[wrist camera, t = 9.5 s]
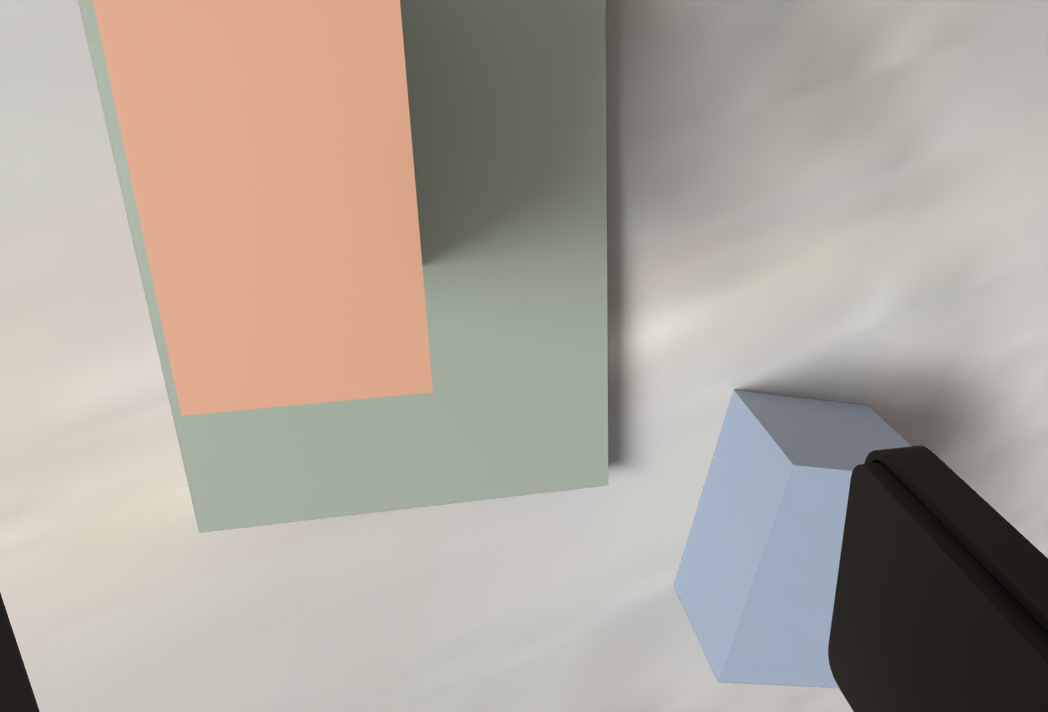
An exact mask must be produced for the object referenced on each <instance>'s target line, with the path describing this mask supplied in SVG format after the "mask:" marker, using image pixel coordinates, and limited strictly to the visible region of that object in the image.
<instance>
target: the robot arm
mask: <svg viewBox="0 0 1048 712" xmlns="http://www.w3.org/2000/svg"><path fill="white" fill-rule="evenodd" d="M828 658H829V664H830V668H831V672H832V674H833V677H834V679H835V681H836V683H837V685H838V687H839V688H840V690H841V691H842V693H843V695H844V696H845V698H846V700H847V701H848V703H849V704H850V706H851V708H852V709H853V711H854V712H1048V558H1046V557H1045V556H1044V555H1043V554H1042V553H1041V552H1040V551H1039V550H1038V549H1037V548H1036V547H1035V546H1033V545H1032V544H1031V543H1030V542H1029V541H1028V540H1027V539H1026V538H1025V537H1024V536H1023V535H1022V534H1020V533H1019V532H1018V531H1017V530H1016V529H1015V528H1014V527H1013V526H1012V525H1011V524H1010V523H1009V522H1007V521H1006V520H1005V519H1004V518H1003V517H1002V516H1001V515H1000V514H999V513H998V512H997V511H996V510H994V509H993V508H992V507H991V506H990V505H989V504H988V503H987V502H986V501H985V500H984V499H983V498H981V497H980V496H979V495H978V494H977V493H976V492H975V491H974V490H973V489H972V488H971V487H970V486H968V485H967V484H966V483H965V482H964V481H963V480H962V479H961V478H960V477H959V476H958V475H957V474H955V473H954V472H953V471H952V470H951V469H950V468H949V467H948V466H947V465H946V464H945V463H944V462H942V461H941V460H940V459H939V458H938V457H937V456H936V455H935V454H934V453H933V452H932V451H931V450H929V449H927V448H926V447H924V446H911V447H901V448H891V449H881V450H874V451H872V452H870V453H869V454H868V456H867V457H866V459H865V463H864V464H859V465H857V466H855V468H854V469H853V471H852V475H851V480H850V488H849V495H848V503H847V510H846V518H845V525H844V532H843V540H842V547H841V555H840V562H839V570H838V577H837V585H836V592H835V600H834V607H833V615H832V622H831V630H830V637H829V645H828ZM0 712H39V709H38V706H37V703H36V700H35V697H34V694H33V691H32V688H31V685H30V681H29V678H28V675H27V672H26V669H25V666H24V663H23V660H22V657H21V654H20V651H19V648H18V645H17V642H16V639H15V636H14V633H13V630H12V627H11V624H10V621H9V618H8V615H7V612H6V609H5V606H4V603H3V600H2V597H1V594H0Z"/></svg>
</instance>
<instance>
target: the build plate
mask: <svg viewBox="0 0 1048 712" xmlns="http://www.w3.org/2000/svg"><path fill="white" fill-rule="evenodd" d="M78 3H79V7H80V12H81V16H82V20H83V25H84V29H85V33H86V38H87V42H88V47H89V51H90V55H91V60H92V64H93V69H94V73H95V77H96V82H97V86H98V90H99V95H100V99H101V104H102V108H103V112H104V117H105V121H106V126H107V130H108V134H109V139H110V143H111V147H112V152H113V156H114V161H115V165H116V169H117V174H118V178H119V183H120V187H121V191H122V196H123V200H124V204H125V209H126V213H127V218H128V222H129V226H130V231H131V235H132V240H133V244H134V248H135V253H136V257H137V261H138V266H139V270H140V275H141V279H142V283H143V288H144V292H145V296H146V301H147V305H148V310H149V314H150V318H151V323H152V327H153V332H154V336H155V340H156V345H157V349H158V353H159V358H160V362H161V367H162V371H163V375H164V380H165V384H166V389H167V393H168V397H169V402H170V406H171V410H172V415H173V419H174V424H175V428H176V432H177V437H178V441H179V446H180V450H181V454H182V459H183V463H184V467H185V472H186V476H187V481H188V485H189V489H190V494H191V498H192V503H193V507H194V511H195V516H196V520H197V524H198V529H199V533H202V532H210V531H219V530H227V529H236V528H245V527H253V526H262V525H271V524H279V523H288V522H296V521H305V520H314V519H322V518H331V517H340V516H348V515H357V514H365V513H374V512H383V511H391V510H400V509H409V508H417V507H426V506H434V505H443V504H452V503H460V502H469V501H478V500H486V499H495V498H503V497H512V496H521V495H529V494H538V493H547V492H555V491H564V490H572V489H581V488H590V487H598V486H607V485H608V332H607V147H606V0H400V7H401V19H402V31H403V42H404V54H405V66H406V78H407V90H408V102H409V114H410V126H411V137H412V149H413V161H414V173H415V185H416V197H417V209H418V220H419V232H420V244H421V256H422V268H423V280H424V292H425V303H426V315H427V327H428V339H429V351H430V363H431V375H432V386H433V392H430V393H419V394H409V395H398V396H387V397H377V398H366V399H356V400H345V401H335V402H324V403H313V404H303V405H292V406H282V407H271V408H260V409H250V410H239V411H229V412H218V413H207V414H197V415H186V416H181V411H180V406H179V402H178V397H177V392H176V388H175V383H174V378H173V374H172V369H171V364H170V360H169V355H168V350H167V346H166V341H165V336H164V332H163V327H162V322H161V317H160V313H159V308H158V303H157V299H156V294H155V289H154V285H153V280H152V275H151V271H150V266H149V261H148V257H147V252H146V247H145V243H144V238H143V233H142V229H141V224H140V219H139V214H138V210H137V205H136V200H135V196H134V191H133V186H132V182H131V177H130V172H129V168H128V163H127V158H126V154H125V149H124V144H123V140H122V135H121V130H120V126H119V121H118V116H117V111H116V107H115V102H114V97H113V93H112V88H111V83H110V79H109V74H108V69H107V65H106V60H105V55H104V51H103V46H102V41H101V37H100V32H99V27H98V22H97V18H96V13H95V8H94V4H93V0H78Z"/></svg>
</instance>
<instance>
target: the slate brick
mask: <svg viewBox="0 0 1048 712" xmlns="http://www.w3.org/2000/svg"><path fill="white" fill-rule="evenodd" d="M901 447H911V445H910V444H909V443H908V442H907V441H905V440H904V439H903V438H902V437H901V436H900V435H899V434H898V433H897V432H896V431H895V430H894V429H893V428H892V427H891V426H890V425H888V424H887V423H886V422H885V421H884V420H883V419H882V418H881V417H880V416H879V415H878V414H877V413H876V412H875V411H874V410H873V409H872V408H870V407H869V406H868V405H860V404H851V403H843V402H834V401H826V400H817V399H809V398H800V397H792V396H783V395H775V394H766V393H758V392H749V391H741V390H733V393H732V396H731V400H730V403H729V406H728V409H727V413H726V416H725V419H724V422H723V426H722V429H721V432H720V435H719V439H718V442H717V445H716V448H715V452H714V455H713V458H712V461H711V465H710V468H709V471H708V474H707V478H706V481H705V484H704V487H703V491H702V494H701V497H700V500H699V504H698V507H697V510H696V514H695V517H694V520H693V523H692V527H691V530H690V533H689V536H688V540H687V543H686V546H685V549H684V553H683V556H682V559H681V562H680V566H679V569H678V572H677V575H676V579H675V582H674V585H673V586H674V588H675V590H676V593H677V595H678V597H679V599H680V601H681V603H682V606H683V608H684V610H685V612H686V614H687V617H688V619H689V621H690V623H691V625H692V627H693V630H694V632H695V634H696V636H697V638H698V640H699V643H700V645H701V647H702V649H703V651H704V654H705V656H706V658H707V660H708V662H709V664H710V667H711V669H712V671H713V673H714V675H715V678H716V680H717V682H718V683H738V684H760V685H782V686H804V687H826V688H839V687H838V685H837V683H836V681H835V679H834V677H833V674H832V672H831V668H830V664H829V658H828V645H829V637H830V630H831V622H832V615H833V607H834V600H835V592H836V585H837V577H838V570H839V562H840V555H841V547H842V540H843V532H844V525H845V518H846V510H847V503H848V495H849V488H850V480H851V475H852V471H853V469H854V468H855V466H857V465H859V464H864V463H865V459H866V457H867V456H868V454H869V453H870V452H872V451H874V450H881V449H891V448H901Z"/></svg>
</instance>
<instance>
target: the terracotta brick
mask: <svg viewBox="0 0 1048 712" xmlns="http://www.w3.org/2000/svg"><path fill="white" fill-rule="evenodd" d="M93 4H94V8H95V13H96V18H97V22H98V27H99V32H100V37H101V41H102V46H103V51H104V55H105V60H106V65H107V69H108V74H109V79H110V83H111V88H112V93H113V97H114V102H115V107H116V111H117V116H118V121H119V126H120V130H121V135H122V140H123V144H124V149H125V154H126V158H127V163H128V168H129V172H130V177H131V182H132V186H133V191H134V196H135V200H136V205H137V210H138V214H139V219H140V224H141V229H142V233H143V238H144V243H145V247H146V252H147V257H148V261H149V266H150V271H151V275H152V280H153V285H154V289H155V294H156V299H157V303H158V308H159V313H160V317H161V322H162V327H163V332H164V336H165V341H166V346H167V350H168V355H169V360H170V364H171V369H172V374H173V378H174V383H175V388H176V392H177V397H178V402H179V406H180V411H181V416H186V415H197V414H207V413H218V412H229V411H239V410H250V409H260V408H271V407H282V406H292V405H303V404H313V403H324V402H335V401H345V400H356V399H366V398H377V397H387V396H398V395H409V394H419V393H430V392H433V386H432V375H431V363H430V351H429V339H428V327H427V315H426V303H425V292H424V280H423V268H422V256H421V244H420V232H419V220H418V209H417V197H416V185H415V173H414V161H413V149H412V137H411V126H410V114H409V102H408V90H407V78H406V66H405V54H404V42H403V31H402V19H401V7H400V0H93Z"/></svg>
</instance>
